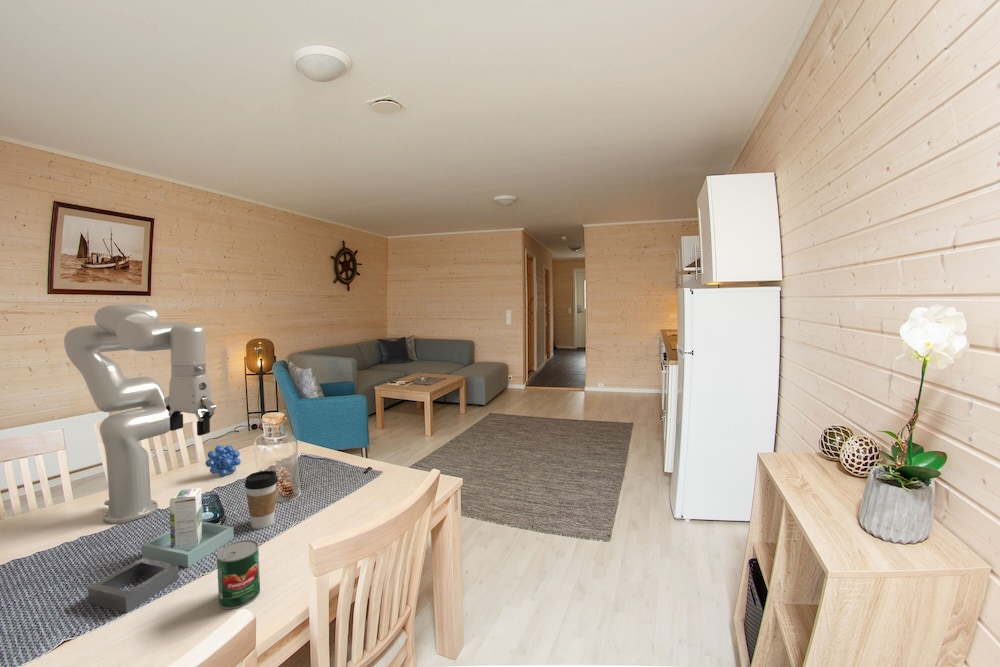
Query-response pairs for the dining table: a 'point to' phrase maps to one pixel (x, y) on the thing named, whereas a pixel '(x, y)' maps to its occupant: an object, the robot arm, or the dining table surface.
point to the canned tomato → (238, 574)
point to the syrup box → (186, 519)
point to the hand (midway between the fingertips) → (190, 431)
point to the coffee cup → (261, 498)
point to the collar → (125, 601)
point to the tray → (210, 542)
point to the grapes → (223, 460)
